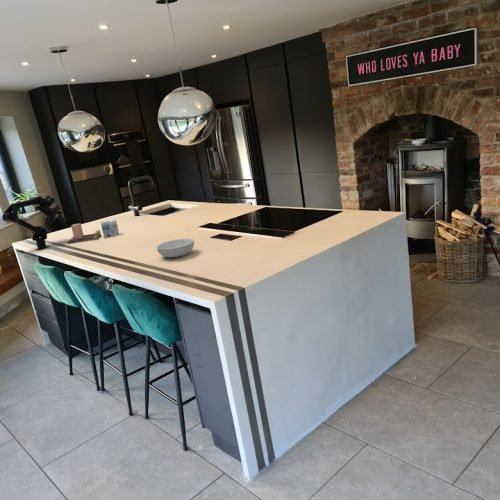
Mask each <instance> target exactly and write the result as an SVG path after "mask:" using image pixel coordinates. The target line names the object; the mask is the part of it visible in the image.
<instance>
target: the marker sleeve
mask: <svg viewBox="0 0 500 500" xmlns="http://www.w3.org/2000/svg"><path fill="white" fill-rule="evenodd" d="M70 228H71V230H72V235H73V237H74V239H78V238H83V237H84V235H85V234H84V232H83V231H84V230H83V228H82V223H81V222H80V223H74V224H72V225H71V226H70Z"/></svg>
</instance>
